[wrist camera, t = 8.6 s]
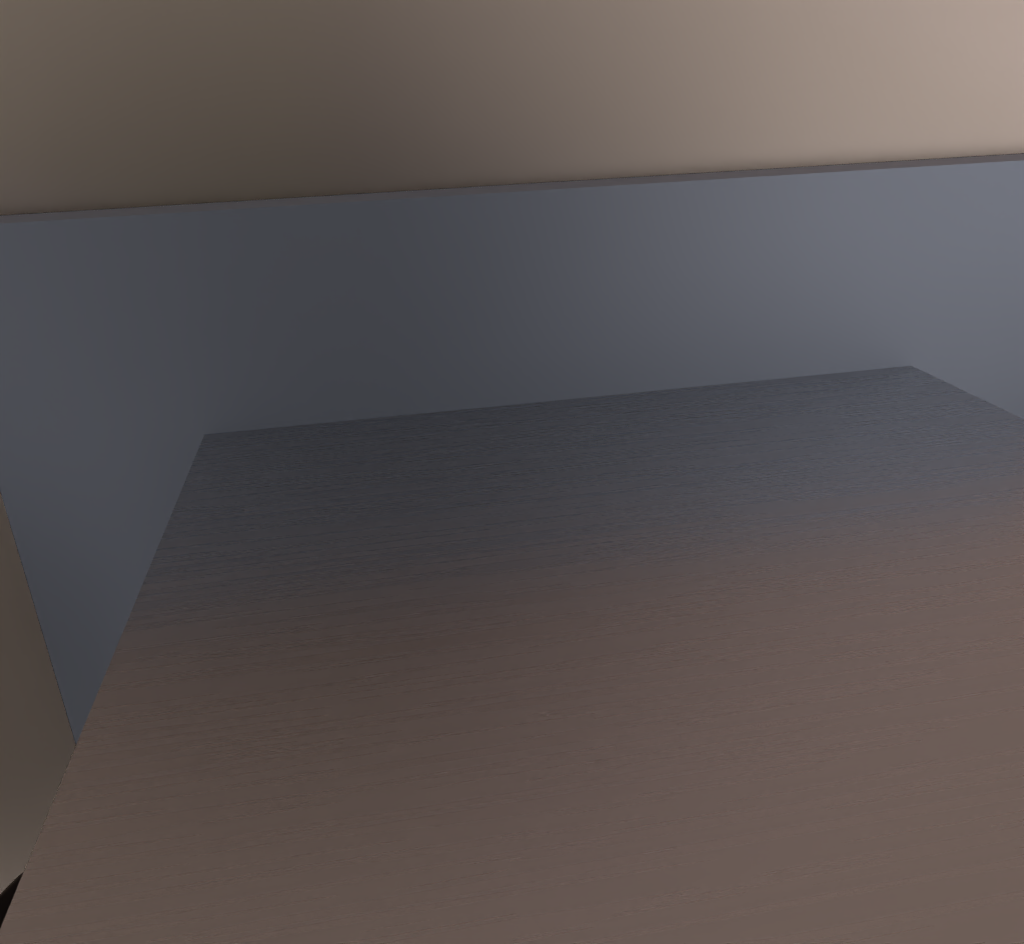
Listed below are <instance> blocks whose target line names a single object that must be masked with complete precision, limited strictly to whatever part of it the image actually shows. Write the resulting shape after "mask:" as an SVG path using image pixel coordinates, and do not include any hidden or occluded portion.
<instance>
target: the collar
mask: <svg viewBox="0 0 1024 944" xmlns="http://www.w3.org/2000/svg"><path fill="white" fill-rule="evenodd" d="M0 944H1024V419H1022V418H1020V417H1018V416H1016V415H1014V414H1012V413H1010V412H1008V411H1006V410H1004V409H1001V408H999V407H997V406H995V405H993V404H991V403H989V402H987V401H985V400H983V399H980V398H978V397H976V396H974V395H972V394H970V393H968V392H966V391H964V390H962V389H959V388H957V387H955V386H953V385H951V384H949V383H947V382H945V381H943V380H940V379H938V378H936V377H934V376H932V375H930V374H928V373H926V372H924V371H922V370H919V369H917V368H915V367H913V366H904V367H894V368H883V369H873V370H863V371H853V372H842V373H832V374H822V375H812V376H801V377H791V378H781V379H770V380H760V381H750V382H740V383H729V384H719V385H709V386H698V387H688V388H678V389H668V390H657V391H647V392H637V393H627V394H616V395H606V396H596V397H585V398H575V399H565V400H555V401H544V402H534V403H524V404H513V405H503V406H493V407H483V408H472V409H462V410H452V411H442V412H431V413H421V414H411V415H400V416H390V417H380V418H370V419H359V420H349V421H339V422H328V423H318V424H308V425H298V426H287V427H277V428H267V429H256V430H246V431H236V432H226V433H215V434H205V435H204V437H203V439H202V441H201V444H200V446H199V449H198V451H197V453H196V456H195V458H194V461H193V463H192V466H191V468H190V470H189V473H188V475H187V478H186V480H185V483H184V485H183V487H182V490H181V492H180V495H179V497H178V499H177V502H176V504H175V507H174V509H173V512H172V514H171V516H170V519H169V521H168V524H167V526H166V529H165V531H164V533H163V536H162V538H161V541H160V543H159V545H158V548H157V550H156V553H155V555H154V558H153V560H152V562H151V565H150V567H149V570H148V572H147V575H146V577H145V579H144V582H143V584H142V587H141V589H140V592H139V594H138V596H137V599H136V601H135V604H134V606H133V608H132V611H131V613H130V616H129V618H128V621H127V623H126V625H125V628H124V630H123V633H122V635H121V638H120V640H119V642H118V645H117V647H116V650H115V652H114V654H113V657H112V659H111V662H110V664H109V667H108V669H107V671H106V674H105V676H104V679H103V681H102V684H101V686H100V688H99V691H98V693H97V696H96V698H95V700H94V703H93V705H92V708H91V710H90V713H89V715H88V717H87V720H86V722H85V725H84V727H83V730H82V732H81V734H80V737H79V739H78V742H77V744H76V746H75V749H74V751H73V754H72V756H71V759H70V761H69V763H68V766H67V768H66V771H65V773H64V776H63V778H62V780H61V783H60V785H59V788H58V790H57V792H56V795H55V797H54V800H53V802H52V805H51V807H50V809H49V812H48V814H47V817H46V819H45V822H44V824H43V826H42V829H41V831H40V834H39V836H38V838H37V841H36V843H35V846H34V848H33V851H32V853H31V855H30V858H29V860H28V863H27V865H26V868H25V870H24V872H23V875H22V877H21V880H20V882H19V884H18V887H17V889H16V892H15V894H14V897H13V899H12V901H11V904H10V906H9V909H8V911H7V914H6V916H5V918H4V921H3V923H2V926H1V928H0Z"/></svg>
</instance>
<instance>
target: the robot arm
mask: <svg viewBox="0 0 1024 944" xmlns="http://www.w3.org/2000/svg"><path fill="white" fill-rule="evenodd" d="M22 875H23V873H22V874H20V875H19V876H18V877H17V878H16V879H15V880H14V881H13V882H12V883H11V884H10V885H9V886H8V887H7V888H6V889H5V890H4V891H3V892H2V893H1V894H0V928H1V926H2V923H3V921H4V918H5V916H6V914H7V911H8V909H9V906H10V904H11V901H12V899H13V897H14V894H15V892H16V889H17V887H18V884H19V882H20V880H21V877H22Z"/></svg>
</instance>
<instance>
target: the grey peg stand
mask: <svg viewBox="0 0 1024 944" xmlns="http://www.w3.org/2000/svg"><path fill="white" fill-rule="evenodd" d="M904 366H913V367H915V368H917V369H919V370H922V371H924V372H926V373H928V374H930V375H932V376H934V377H936V378H938V379H940V380H943V381H945V382H947V383H949V384H951V385H953V386H955V387H957V388H959V389H962V390H964V391H966V392H968V393H970V394H972V395H974V396H976V397H978V398H980V399H983V400H985V401H987V402H989V403H991V404H993V405H995V406H997V407H999V408H1001V409H1004V410H1006V411H1008V412H1010V413H1012V414H1014V415H1016V416H1018V417H1020V418H1022V419H1024V153H1023V154H1007V155H990V156H974V157H957V158H941V159H924V160H908V161H891V162H875V163H858V164H842V165H826V166H809V167H793V168H776V169H760V170H743V171H727V172H710V173H694V174H677V175H661V176H644V177H628V178H611V179H595V180H578V181H562V182H545V183H529V184H512V185H496V186H479V187H463V188H446V189H430V190H413V191H397V192H380V193H364V194H347V195H331V196H314V197H298V198H282V199H265V200H249V201H232V202H216V203H199V204H183V205H166V206H150V207H133V208H117V209H100V210H84V211H67V212H51V213H34V214H18V215H1V216H0V492H1V496H2V499H3V502H4V506H5V509H6V512H7V516H8V519H9V522H10V526H11V529H12V532H13V536H14V539H15V543H16V546H17V549H18V553H19V556H20V559H21V563H22V566H23V569H24V573H25V576H26V579H27V583H28V586H29V589H30V593H31V596H32V599H33V603H34V606H35V609H36V613H37V616H38V619H39V623H40V626H41V630H42V633H43V636H44V640H45V643H46V646H47V650H48V653H49V656H50V660H51V663H52V666H53V670H54V673H55V676H56V680H57V683H58V686H59V690H60V693H61V696H62V700H63V703H64V706H65V710H66V713H67V717H68V720H69V723H70V727H71V730H72V733H73V737H74V740H75V743H76V744H77V742H78V739H79V737H80V734H81V732H82V730H83V727H84V725H85V722H86V720H87V717H88V715H89V713H90V710H91V708H92V705H93V703H94V700H95V698H96V696H97V693H98V691H99V688H100V686H101V684H102V681H103V679H104V676H105V674H106V671H107V669H108V667H109V664H110V662H111V659H112V657H113V654H114V652H115V650H116V647H117V645H118V642H119V640H120V638H121V635H122V633H123V630H124V628H125V625H126V623H127V621H128V618H129V616H130V613H131V611H132V608H133V606H134V604H135V601H136V599H137V596H138V594H139V592H140V589H141V587H142V584H143V582H144V579H145V577H146V575H147V572H148V570H149V567H150V565H151V562H152V560H153V558H154V555H155V553H156V550H157V548H158V545H159V543H160V541H161V538H162V536H163V533H164V531H165V529H166V526H167V524H168V521H169V519H170V516H171V514H172V512H173V509H174V507H175V504H176V502H177V499H178V497H179V495H180V492H181V490H182V487H183V485H184V483H185V480H186V478H187V475H188V473H189V470H190V468H191V466H192V463H193V461H194V458H195V456H196V453H197V451H198V449H199V446H200V444H201V441H202V439H203V437H204V435H205V434H215V433H226V432H236V431H246V430H256V429H267V428H277V427H287V426H298V425H308V424H318V423H328V422H339V421H349V420H359V419H370V418H380V417H390V416H400V415H411V414H421V413H431V412H442V411H452V410H462V409H472V408H483V407H493V406H503V405H513V404H524V403H534V402H544V401H555V400H565V399H575V398H585V397H596V396H606V395H616V394H627V393H637V392H647V391H657V390H668V389H678V388H688V387H698V386H709V385H719V384H729V383H740V382H750V381H760V380H770V379H781V378H791V377H801V376H812V375H822V374H832V373H842V372H853V371H863V370H873V369H883V368H894V367H904Z"/></svg>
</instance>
